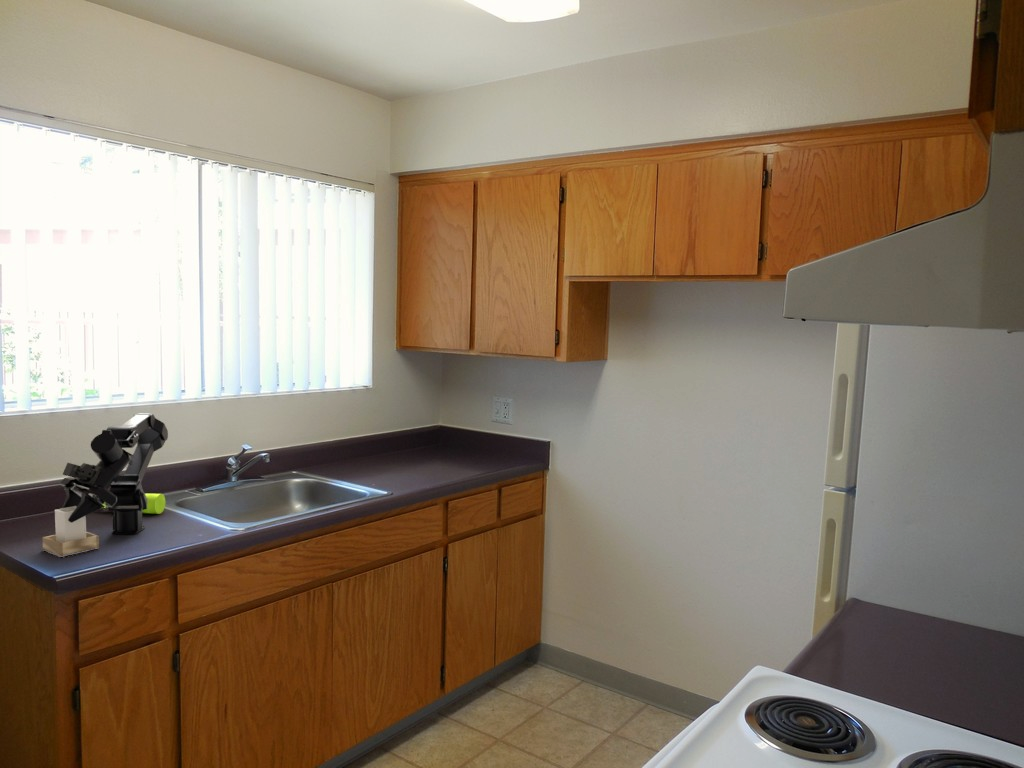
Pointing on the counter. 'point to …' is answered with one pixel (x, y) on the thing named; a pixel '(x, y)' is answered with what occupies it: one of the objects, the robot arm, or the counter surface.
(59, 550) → the pine crate
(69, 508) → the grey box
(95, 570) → the counter surface
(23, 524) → the counter surface
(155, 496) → the soap dispenser
